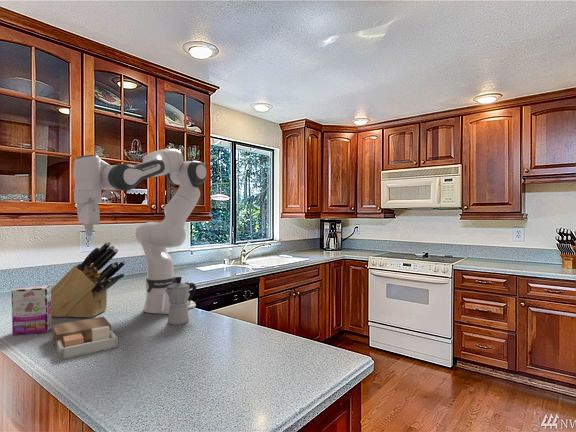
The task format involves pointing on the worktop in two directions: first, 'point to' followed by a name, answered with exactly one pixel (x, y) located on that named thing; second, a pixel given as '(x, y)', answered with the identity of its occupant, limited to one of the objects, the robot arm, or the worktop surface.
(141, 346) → the worktop surface
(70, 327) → the wooden box
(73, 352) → the tray
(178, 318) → the coffee maker
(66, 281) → the knife block
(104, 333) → the tile
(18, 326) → the candy bar box
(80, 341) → the tile
